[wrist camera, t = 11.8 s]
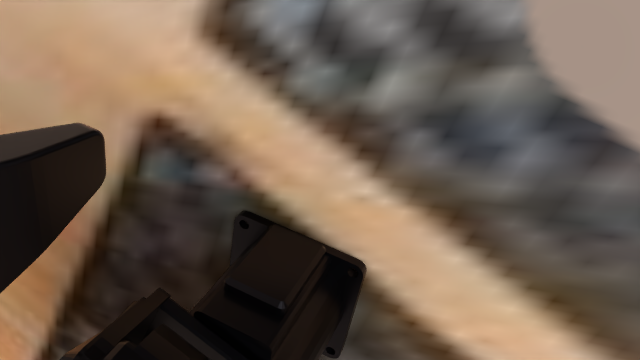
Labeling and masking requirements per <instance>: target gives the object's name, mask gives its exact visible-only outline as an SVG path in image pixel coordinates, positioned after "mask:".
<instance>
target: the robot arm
mask: <svg viewBox="0 0 640 360" xmlns="http://www.w3.org/2000/svg"><path fill="white" fill-rule="evenodd" d="M105 176H106V159H105V141H104V137H103V135H102V133H101V132H100V131H98V130H96V129H94V128H92V127H89V126H87V125H85V124H81V123H73V124H67V125H60V126H54V127H48V128H41V129H35V130H29V131H22V132H16V133H10V134H3V135H0V293H1V292H2V291H3V290H4V289H5V288H6V287H8V286H9V285H10V284H11V283H12V282H13V281H14V280H15V279H16V278H17V277H18V276H19V275H20V274H21V273H22V272H23V271H24V270H26V269H27V268H28V267H29V266H30V265H31V264H32V263H33V262H34V261H35V260H36V259H37V258H38V257H39V256H40V255H41V254H42V253H43V252H44V251H45V250H46V249H47V248H48V247H49V245H50V244H51V243H52V242H53V241H54V240H55V239H56V238H57V236H58V235H59V234H60V233H61V232H62V231H63V230H64V228H65V227H66V226H67V225H68V224H69V223H70V221H71V220H72V219H73V218H74V217H75V216H76V214H77V213H78V212H79V211H80V210H81V209H82V207H83V206H84V205H85V204H86V203H87V202H88V201H89V199H90V198H91V197H92V196H93V195H94V194H95V192H96V191H97V190H98V189H99V188H100V186H101V185H102V183H103V181H104V179H105ZM244 220H245V221H246V222H247V223H248V224H247V223H246V222H245V221H244ZM352 268H353V269H355V270H357V272H355V271H353V270H352ZM365 275H366V266H365V264H364V263H363V262H362V261H360V260H359V259H356V258H354V257H352V256H350V255H347V254H345V253H343V252H340V251H338V250H336V249H334V248H331V247H329V246H327V245H324V244H322V243H320V242H318V241H315V240H313V239H311V238H308V237H306V236H304V235H301V234H299V233H297V232H295V231H292V230H290V229H288V228H285V227H283V226H281V225H279V224H276V223H274V222H272V221H269V220H267V219H265V218H263V217H260V216H258V215H256V214H253V213H251V212H248V211H242V212H241V213H240V214H239V215H238V216H237V217H236V218H235V223H234V232H233V241H232V250H231V259H230V267H229V268H228V270H227V271H226V272H225V273H224V274H223V275H222V276H221V278H220V279H219V280H218V281H217V282H216V283H215V284H214V286H213V287H212V288H211V289H210V290H209V291H208V292H207V294H206V295H205V296H204V297H203V298H202V299H201V300H200V302H199V303H198V304H197V305H196V306H195V307H194V308H193V310H192V311H191V312H190V313H189V312H187V311H186V310H185V309H183V308H182V307H181V306H180V305H178V304H177V303H176V302H174V301H173V300H172V299H171V298H170V295H169V294H168V293H166V292H165V291H164V290H163V289H161V288H159V289H157V290H156V291H155V292H154V293H153V294H152V295H150V296H149V297H148V298H147V299H146V298H144V297H143V298H142V299H140V300H139V301H138V302H137V301H134V302H133V303H132V304H131V305H130V306H129V307H128V308H127V309H126V310H125V311H124V312H123V313H122V314H121V315H120V316H119V317H118V318H117V319H116V320H115V321H114V322H113V323H112V324H111V325H109V326H108V327H107V328H106V329H104V330H103V331H101V332H100V333H98V334H97V335H95V336H93V337H92V338H90V339H88V340H87V341H85V342H84V343H82V344H80V345H79V346H77V347H75V348H74V349H72V350H71V351H69V352H67V353H66V354H65V355H64V356H63V357H62V358H61V359H60V360H319V358H320V356H321V355H322V354H323V355H325V356H328V357H330V358H338V357H339V356H340V354H341V352H342V350H343V347H344V344H345V341H346V337H347V334H348V331H349V327H350V324H351V321H352V318H353V314H354V311H355V308H356V304H357V301H358V298H359V294H360V291H361V288H362V285H363V281H364V278H365Z"/></svg>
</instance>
